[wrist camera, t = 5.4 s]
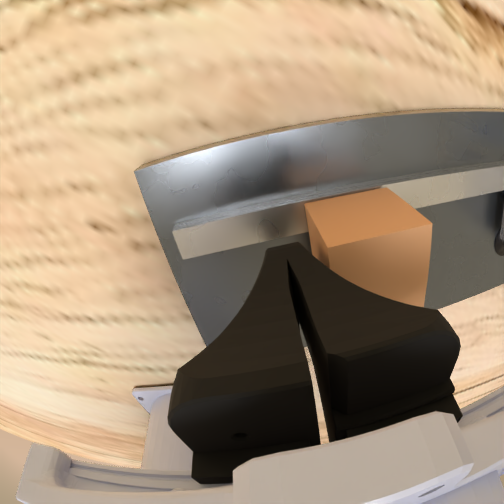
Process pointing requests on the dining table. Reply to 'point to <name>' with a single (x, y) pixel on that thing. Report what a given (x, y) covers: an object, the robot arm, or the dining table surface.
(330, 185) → the bolt plate
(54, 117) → the dining table surface
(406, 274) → the orange block
